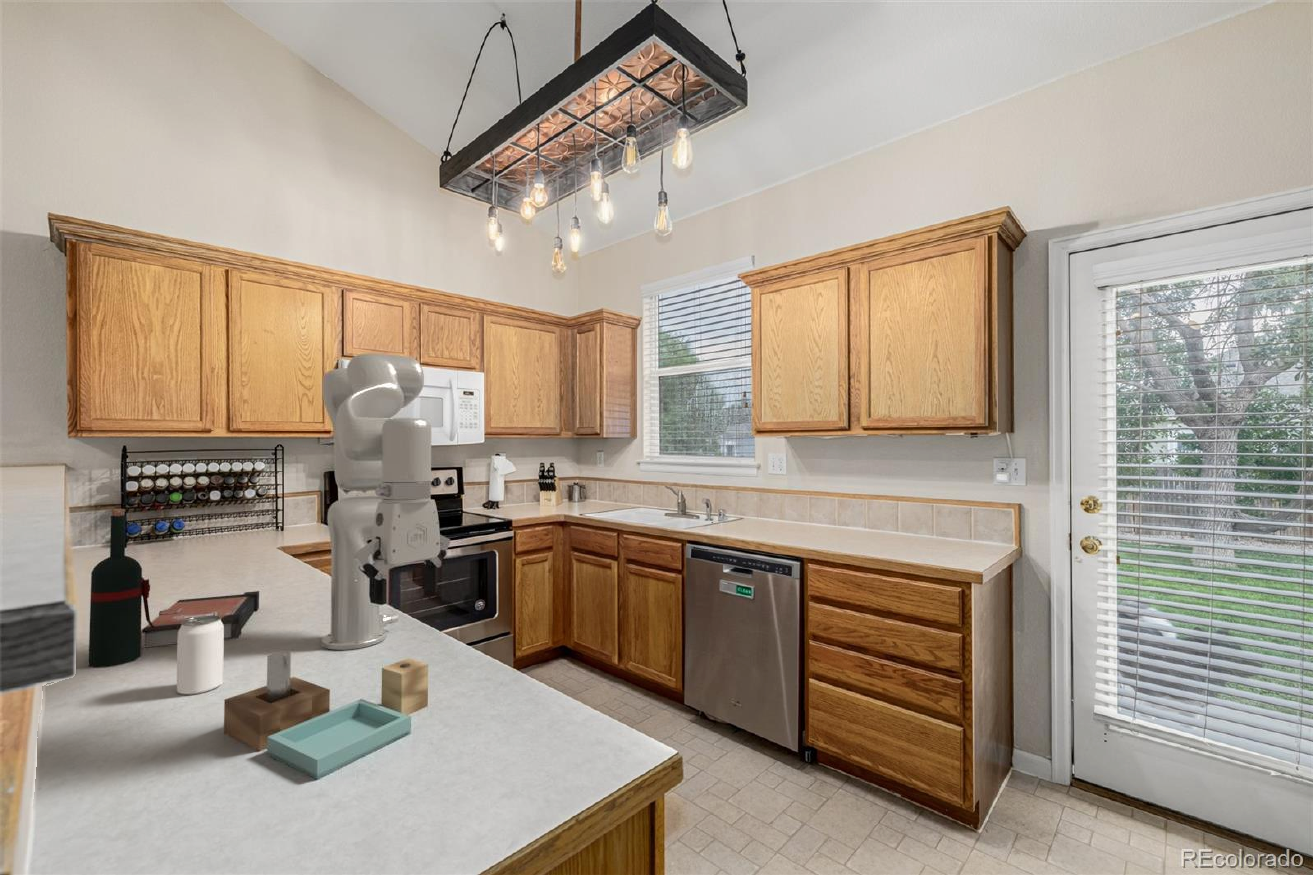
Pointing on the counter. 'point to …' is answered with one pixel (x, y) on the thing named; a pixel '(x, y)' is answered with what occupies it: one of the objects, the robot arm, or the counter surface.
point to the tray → (338, 737)
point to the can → (200, 655)
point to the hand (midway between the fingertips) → (405, 596)
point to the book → (227, 607)
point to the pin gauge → (278, 676)
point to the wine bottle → (116, 603)
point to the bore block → (272, 712)
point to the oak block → (405, 686)
